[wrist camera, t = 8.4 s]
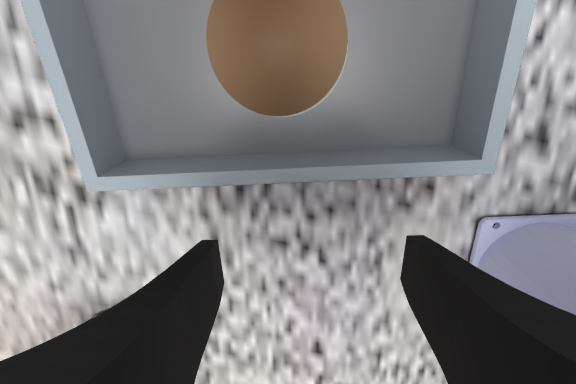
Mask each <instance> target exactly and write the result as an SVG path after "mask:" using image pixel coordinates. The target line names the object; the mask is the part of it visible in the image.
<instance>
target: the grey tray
mask: <svg viewBox="0 0 576 384" xmlns="http://www.w3.org/2000/svg"><path fill="white" fill-rule="evenodd" d="M20 1H21V4H22V7H23V10H24V13H25V15H26V18H27V21H28V24H29V27H30V30H31V33H32V35H33V38H34V41H35V44H36V47H37V50H38V52H39V55H40V58H41V61H42V64H43V67H44V69H45V72H46V75H47V78H48V81H49V84H50V87H51V89H52V92H53V95H54V98H55V101H56V104H57V106H58V109H59V112H60V115H61V118H62V121H63V123H64V126H65V129H66V132H67V135H68V138H69V140H70V143H71V146H72V149H73V152H74V155H75V158H76V160H77V163H78V166H79V169H80V172H81V175H82V177H83V180H84V183H85V186H86V189H87V192H92V191H114V190H137V189H160V188H183V187H205V186H228V185H251V184H274V183H296V182H319V181H342V180H365V179H388V178H410V177H433V176H456V175H479V174H494V171H495V167H496V163H497V159H498V155H499V151H500V147H501V143H502V139H503V135H504V131H505V127H506V122H507V118H508V114H509V110H510V106H511V102H512V98H513V94H514V90H515V86H516V82H517V78H518V73H519V69H520V65H521V61H522V57H523V53H524V49H525V45H526V41H527V37H528V33H529V29H530V24H531V20H532V16H533V12H534V8H535V4H536V0H340V3H341V5H342V8H343V10H344V14H345V18H346V23H347V30H348V45H347V53H346V58H345V62H344V65H343V68H342V71H341V73H340V75H339V77H338V79H337V81H336V82H335V84H334V86H333V87H332V88H331V90H330V91H329V92H328V93H327V95H326V96H324V97H323V98H322V99H321V100H320V101H319V102H318V103H316V104H315V105H314V106H312V107H310V108H308V109H307V110H305V111H302V112H300V113H297V114H293V115H289V116H268V115H263V114H259V113H256V112H254V111H251V110H249V109H247V108H246V107H244V106H242V105H241V104H239V103H238V102H237V101H236V100H234V99H233V98H232V97H231V96H230V95H229V94H228V93H227V92H226V90H225V89H224V88H223V87H222V85H221V84H220V82H219V80H218V79H217V77H216V75H215V73H214V71H213V69H212V66H211V63H210V60H209V56H208V51H207V42H206V28H207V21H208V15H209V12H210V8H211V5H212V3H213V1H214V0H20Z"/></svg>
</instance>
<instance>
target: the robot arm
mask: <svg viewBox="0 0 576 384" xmlns="http://www.w3.org/2000/svg"><path fill="white" fill-rule="evenodd" d="M495 223H496V225H494V226H493V224H495ZM400 280H401V283H402V286H403V289H404V292H405V294H406V297H407V300H408V302H409V305H410V307H411V309H412V311H413V313H414V315H415V317H416V319H417V321H418V323H419V325H420V327H421V329H422V331H423V333H424V334H425V336H426V338H427V340H428V342H429V344H430V346H431V348H432V350H433V352H434V354H435V356H436V358H437V360H438V362H439V364H440V366H441V368H442V370H443V373H444V375H445V377H446V380H447V382H448V384H576V214H556V215H531V216H506V217H486V218H483V219H482V220H481V221H480V222H479V224H478V228H477V232H476V236H475V241H474V245H473V249H472V253H471V257H470V261H469V262H467V261H466V260H464V259H462V258H461V257H459V256H457V255H456V254H454V253H453V252H451V251H449V250H448V249H446V248H444V247H443V246H441V245H440V244H438V243H436V242H435V241H433V240H431V239H429V238H427V237H426V236H424V235H415V236H407V238H406V245H405V251H404V258H403V265H402V272H401V278H400ZM223 286H224V278H223V271H222V265H221V258H220V251H219V245H218V240H202V241H200V242H199V243H198V244H196V245H195V246H194V247H193V248H192V249H190V250H189V251H188V252H187V253H186V254H184V255H183V256H182V257H181V258H180V259H178V260H177V261H176V262H175V263H174V264H172V265H171V266H170V267H169V268H168V269H166V270H165V271H164V272H162V273H161V274H160V275H158V276H157V277H156V278H154V279H153V280H152V281H150V282H149V283H148V284H146V285H145V286H144V287H142V288H141V289H139V290H138V291H137V292H135V293H134V294H132V295H131V296H129V297H128V298H126V299H124V300H123V301H121V302H120V303H118V304H116V305H115V306H113V307H111V308H110V309H108V310H106V311H105V312H103V313H101V314H99V315H97V316H95V317H94V318H92V319H90V320H88V321H86V322H85V323H83V324H81V325H79V326H77V327H75V328H73V329H71V330H69V331H67V332H65V333H63V334H61V335H59V336H57V337H55V338H53V339H51V340H49V341H46V342H44V343H42V344H40V345H38V346H36V347H33V348H31V349H29V350H26V351H24V352H22V353H19V354H17V355H15V356H12V357H10V358H7V359H5V360H2V361H0V384H194V382H195V378H196V375H197V371H198V368H199V365H200V362H201V359H202V356H203V353H204V350H205V347H206V344H207V341H208V338H209V336H210V333H211V330H212V327H213V324H214V321H215V318H216V315H217V312H218V309H219V306H220V301H221V296H222V291H223Z"/></svg>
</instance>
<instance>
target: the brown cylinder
mask: <svg viewBox="0 0 576 384" xmlns="http://www.w3.org/2000/svg"><path fill="white" fill-rule="evenodd" d="M206 42H207V51H208V56H209V60H210V63H211V66H212V69H213V71H214V73H215V75H216V77H217V79H218V80H219V82H220V84H221V85H222V87H223V88H224V89H225V90H226V92H227V93H228V94H229V95H230V96H231V97H232V98H233V99H234V100H236V101H237V102H238V103H239V104H241V105H242V106H244V107H246V108H247V109H249V110H251V111H254V112H256V113H259V114H263V115H268V116H289V115H293V114H297V113H300V112H302V111H305V110H307V109H308V108H310V107H312V106H314V105H315V104H316V103H318V102H319V101H320V100H321V99H322V98H323V97H324V96H326V95H327V93H328V92H329V91H330V90H331V88H332V87H333V86H334V84H335V82H336V81H337V79H338V77H339V75H340V73H341V71H342V68H343V65H344V62H345V58H346V53H347V45H348V30H347V23H346V18H345V14H344V10H343V8H342V5H341V3H340V0H214V1H213V3H212V5H211V8H210V12H209V15H208V21H207V28H206Z"/></svg>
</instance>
